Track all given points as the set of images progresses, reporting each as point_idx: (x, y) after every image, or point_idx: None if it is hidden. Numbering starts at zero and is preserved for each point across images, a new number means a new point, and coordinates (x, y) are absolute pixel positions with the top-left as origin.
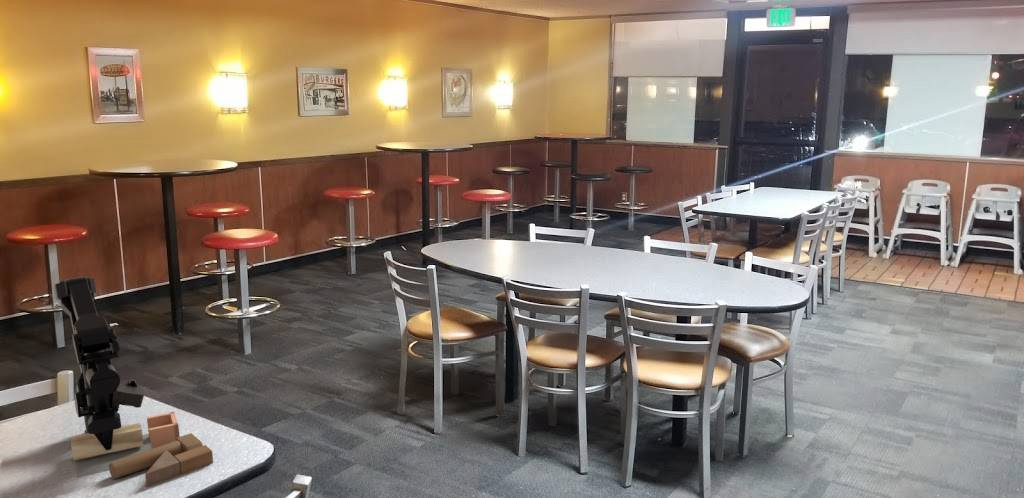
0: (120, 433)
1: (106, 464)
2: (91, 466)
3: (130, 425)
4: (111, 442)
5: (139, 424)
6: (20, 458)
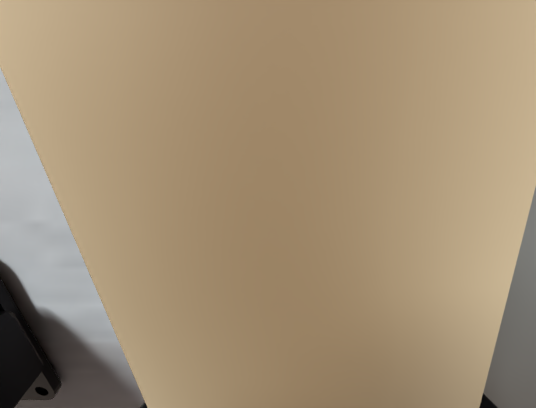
0: (476, 395)
1: (530, 308)
2: (486, 380)
3: (135, 245)
4: (485, 400)
5: (119, 18)
6: None
